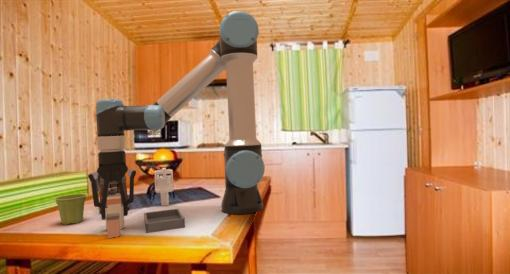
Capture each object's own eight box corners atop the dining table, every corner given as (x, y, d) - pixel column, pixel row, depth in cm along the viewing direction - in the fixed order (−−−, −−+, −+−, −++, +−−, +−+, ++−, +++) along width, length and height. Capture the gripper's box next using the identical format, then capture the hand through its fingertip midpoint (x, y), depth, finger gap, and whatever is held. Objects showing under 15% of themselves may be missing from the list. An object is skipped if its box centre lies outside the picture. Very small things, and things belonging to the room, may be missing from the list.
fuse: (122, 226, 96) (121, 194, 96) (122, 229, 93) (120, 196, 92) (109, 227, 95) (107, 195, 95) (108, 231, 91) (106, 197, 91)
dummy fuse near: (120, 233, 89) (119, 212, 89) (120, 236, 86) (119, 215, 86) (108, 235, 88) (107, 214, 88) (107, 238, 85) (106, 217, 85)
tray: (178, 216, 106) (178, 208, 105) (185, 227, 93) (184, 218, 92) (144, 220, 101) (144, 212, 101) (146, 232, 88) (145, 223, 88)
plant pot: (48, 225, 101) (47, 198, 100) (74, 217, 109) (73, 193, 109) (69, 227, 97) (68, 199, 97) (94, 219, 106) (93, 194, 106)
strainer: (156, 207, 120) (155, 169, 119) (155, 204, 126) (153, 167, 126) (175, 205, 122) (173, 167, 122) (172, 202, 129) (171, 166, 129)
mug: (135, 209, 119) (133, 170, 119) (109, 215, 110) (107, 173, 110) (111, 205, 127) (109, 169, 127) (85, 211, 118) (84, 172, 118)
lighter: (108, 219, 104) (107, 190, 104) (99, 219, 105) (98, 190, 105) (123, 213, 112) (121, 186, 112) (114, 213, 113) (113, 186, 113)
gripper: (140, 148, 100) (144, 220, 100) (82, 151, 94) (86, 228, 94) (141, 149, 93) (144, 226, 93) (78, 153, 87) (82, 235, 87)
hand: (115, 227), depth 94 cm, fingers closed on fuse, 3 cm apart
